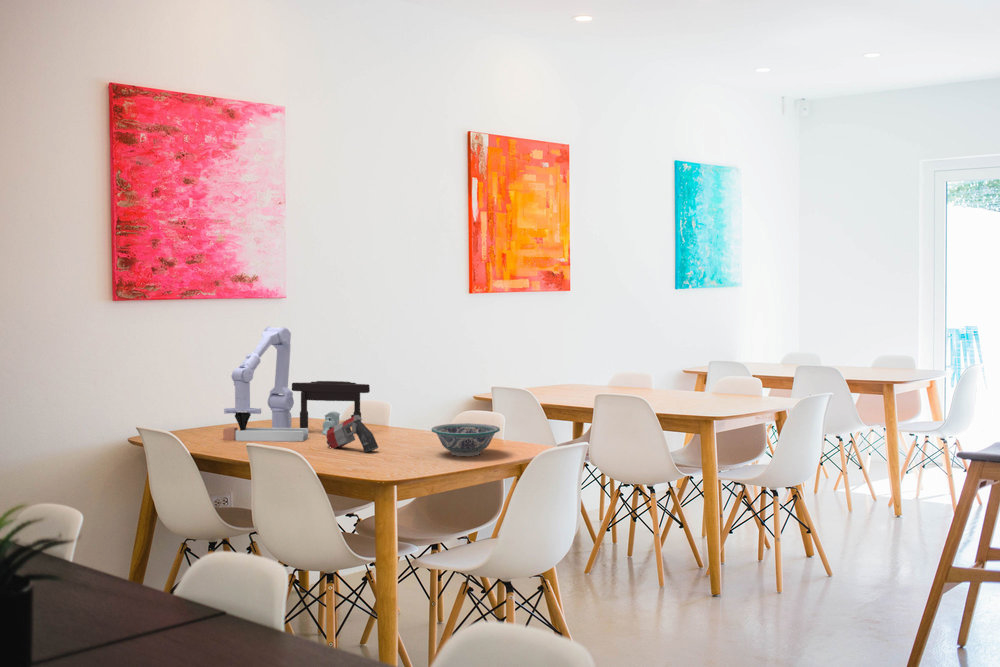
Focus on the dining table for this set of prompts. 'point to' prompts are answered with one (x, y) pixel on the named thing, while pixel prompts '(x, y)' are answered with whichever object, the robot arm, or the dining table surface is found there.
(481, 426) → the bowl
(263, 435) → the trap channel
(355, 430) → the toy gun
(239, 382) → the robot arm
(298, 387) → the black side table
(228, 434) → the block
